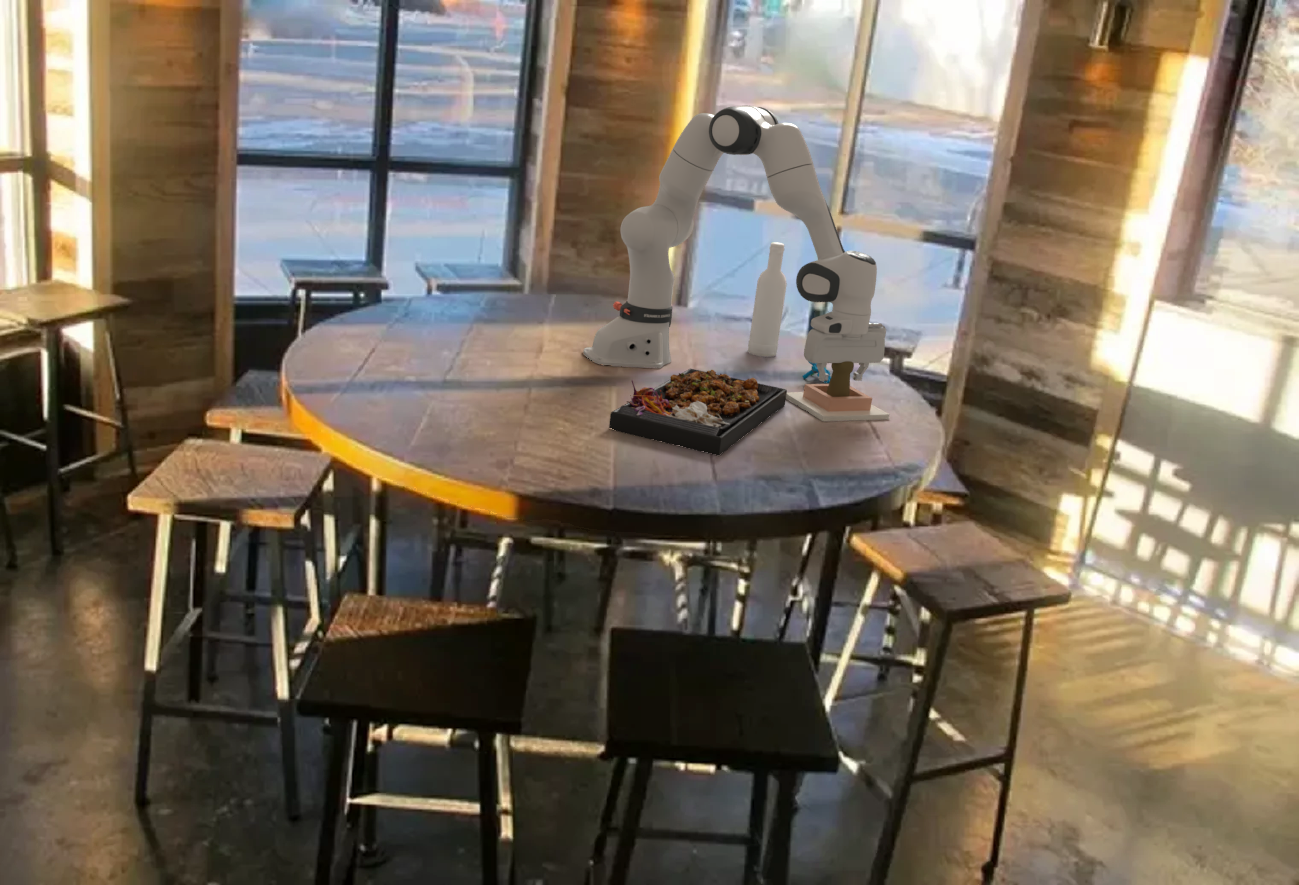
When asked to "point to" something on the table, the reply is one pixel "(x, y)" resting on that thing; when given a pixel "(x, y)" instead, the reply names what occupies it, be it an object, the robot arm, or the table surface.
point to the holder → (836, 404)
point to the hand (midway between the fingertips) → (840, 380)
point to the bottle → (768, 306)
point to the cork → (840, 379)
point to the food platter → (698, 410)
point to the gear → (815, 370)
